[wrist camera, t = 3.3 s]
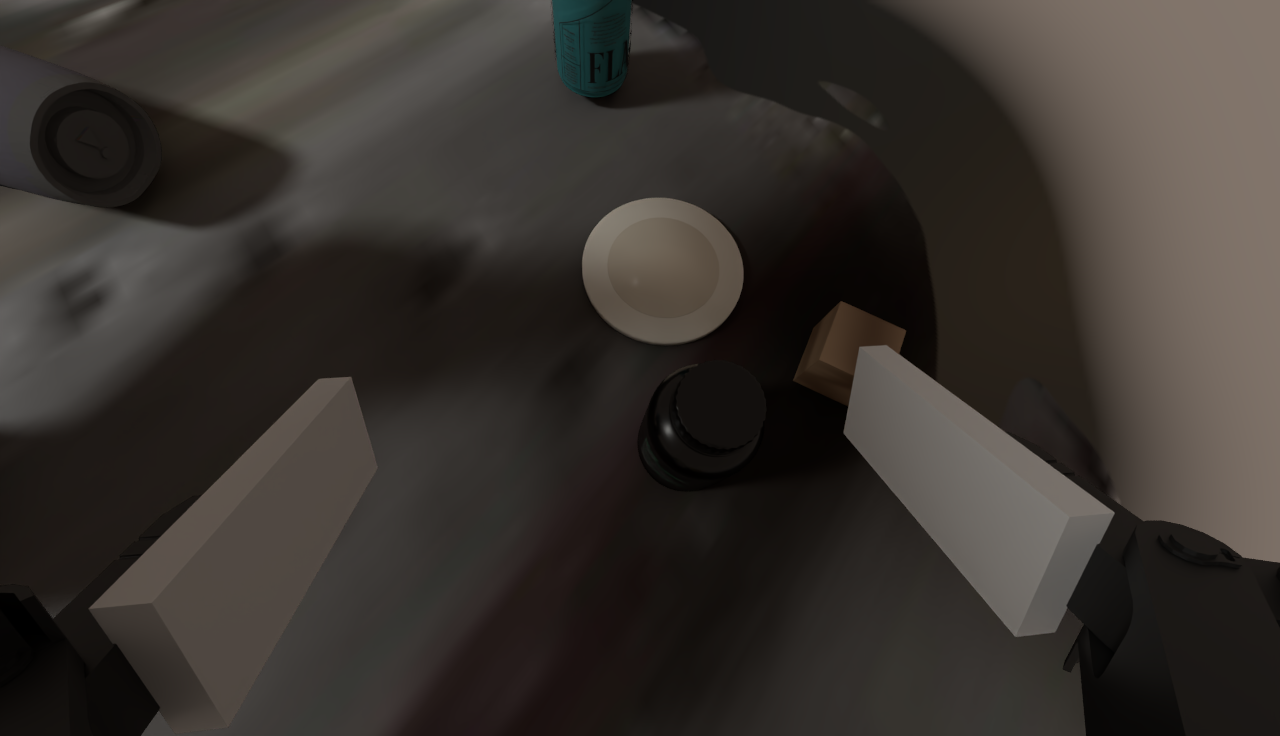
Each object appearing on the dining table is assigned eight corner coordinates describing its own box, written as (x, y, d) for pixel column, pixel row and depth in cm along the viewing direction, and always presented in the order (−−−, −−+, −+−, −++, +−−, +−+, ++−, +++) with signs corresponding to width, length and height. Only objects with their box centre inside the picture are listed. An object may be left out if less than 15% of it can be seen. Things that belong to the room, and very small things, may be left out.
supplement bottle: (694, 382, 39) (735, 318, 28) (747, 459, 38) (813, 424, 26) (618, 429, 38) (629, 381, 26) (670, 511, 36) (705, 498, 25)
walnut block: (792, 381, 40) (819, 359, 35) (813, 328, 42) (841, 300, 37) (852, 408, 40) (887, 391, 35) (870, 354, 41) (906, 330, 37)
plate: (548, 265, 41) (547, 260, 40) (661, 177, 45) (662, 170, 44) (663, 379, 39) (665, 375, 38) (772, 276, 43) (776, 271, 42)
